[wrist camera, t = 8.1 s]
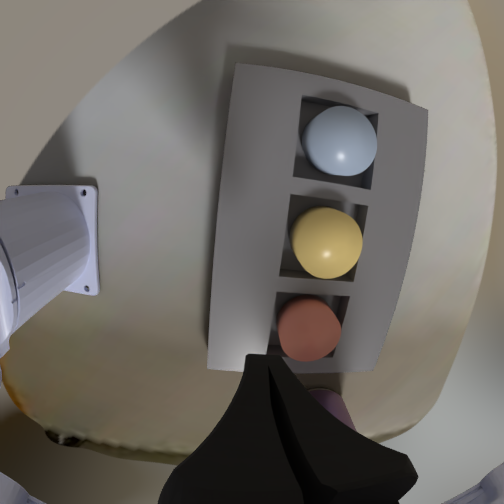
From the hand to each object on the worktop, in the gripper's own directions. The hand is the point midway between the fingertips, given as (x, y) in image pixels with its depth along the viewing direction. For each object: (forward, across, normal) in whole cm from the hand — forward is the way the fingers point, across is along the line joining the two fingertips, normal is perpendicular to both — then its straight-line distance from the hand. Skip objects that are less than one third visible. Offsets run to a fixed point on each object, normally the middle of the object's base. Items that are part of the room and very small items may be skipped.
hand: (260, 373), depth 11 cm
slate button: (+8, -4, -10) cm, 14 cm away
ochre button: (+8, -4, -4) cm, 10 cm away
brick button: (+8, -4, +2) cm, 10 cm away
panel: (+9, -4, -4) cm, 11 cm away
